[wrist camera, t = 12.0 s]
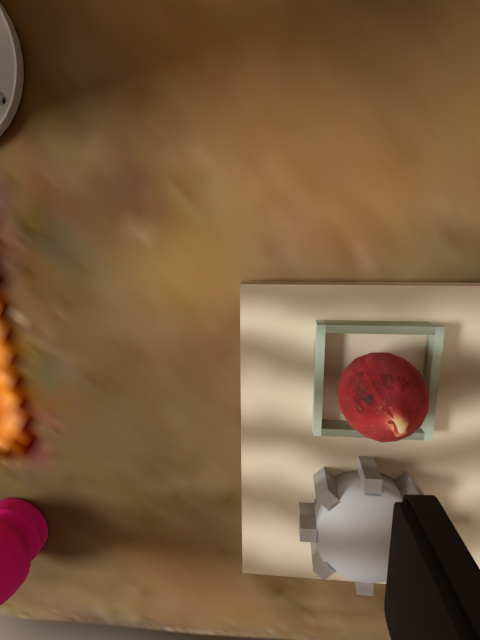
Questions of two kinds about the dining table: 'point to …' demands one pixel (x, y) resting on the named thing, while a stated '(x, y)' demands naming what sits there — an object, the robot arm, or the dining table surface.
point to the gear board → (338, 436)
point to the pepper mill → (18, 543)
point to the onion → (383, 396)
